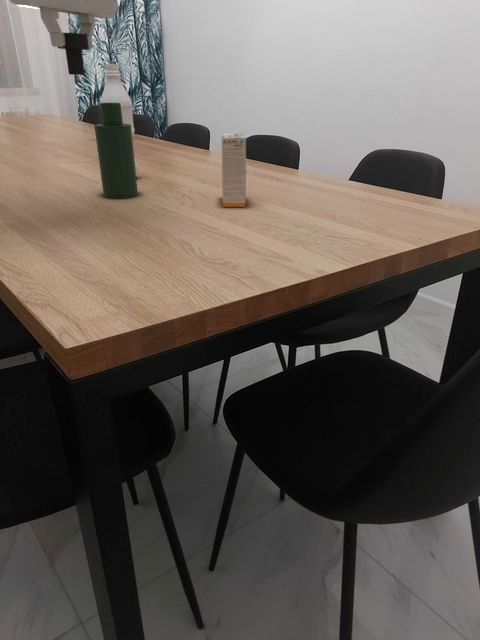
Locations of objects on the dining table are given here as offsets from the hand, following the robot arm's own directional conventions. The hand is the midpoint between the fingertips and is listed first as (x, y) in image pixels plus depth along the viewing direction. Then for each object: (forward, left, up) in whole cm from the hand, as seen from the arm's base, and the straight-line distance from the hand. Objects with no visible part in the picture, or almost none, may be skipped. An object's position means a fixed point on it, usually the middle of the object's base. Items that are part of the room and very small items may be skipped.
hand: (72, 48), depth 78 cm
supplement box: (+29, -3, -27) cm, 39 cm away
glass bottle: (+13, +17, -27) cm, 34 cm away
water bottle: (+22, +34, -27) cm, 49 cm away
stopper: (0, 0, -4) cm, 4 cm away
